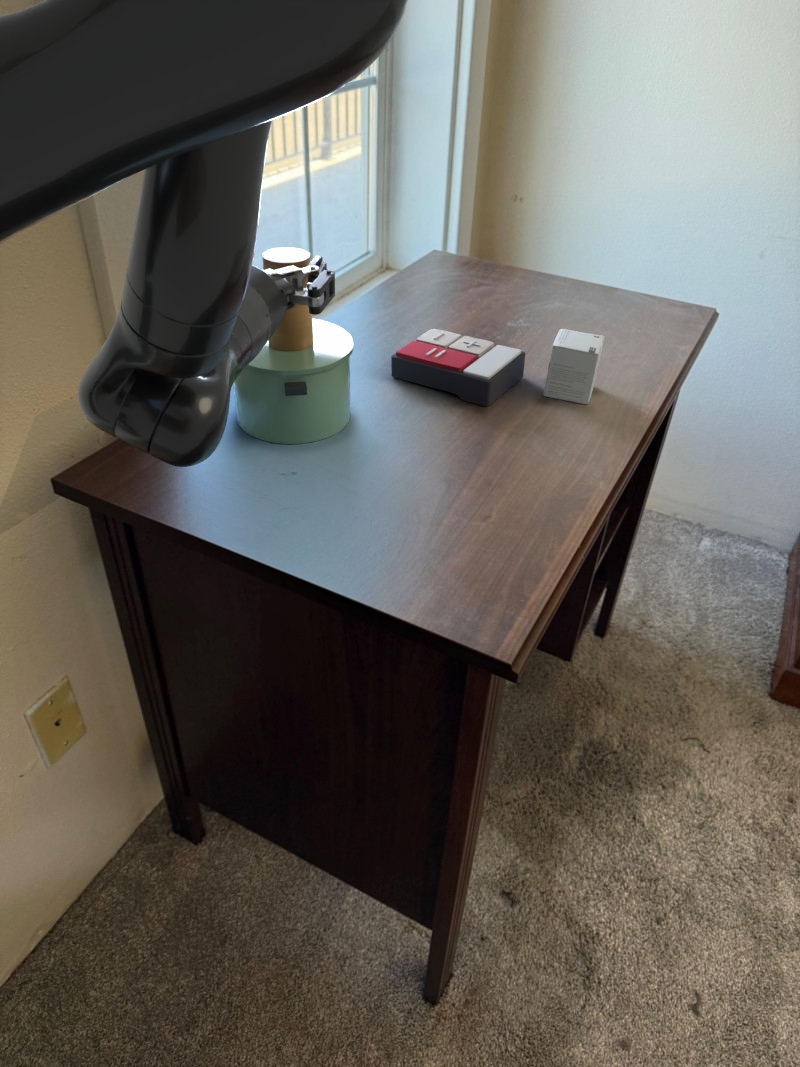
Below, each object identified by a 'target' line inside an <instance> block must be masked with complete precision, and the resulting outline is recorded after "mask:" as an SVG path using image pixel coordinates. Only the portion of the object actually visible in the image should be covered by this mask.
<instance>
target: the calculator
mask: <svg viewBox="0 0 800 1067" xmlns="http://www.w3.org/2000/svg"><path fill="white" fill-rule="evenodd" d="M390 359H391V360H390V361H391V377H393V378H395V379H400V380H403V381H407V382H411V383H414V384H418V385H421V386H426V387H429V388H433V389H437V390H441V391H444V392H448V393H450V394H456V395H457V396H458V397H459V399H462V401H465V402H468V403H471V404H476V405H480V406H484V407H490V406H491V405H492V404H493V403H494V402H495V401H496V400H498V399H499V398H501V396H502V395H503V394H505V393H506V392H507V391H508V390H509V389H511V388H512V387H513V386H514V385H515V384H516V383H517V382H518V381H520V380H521V379H522V378H523V377H524V372H525V362H526V352H525V351H522V349H519V348H516V347H511V346H506V345H502V344H497V345H496V344H495V342H493V341H492V340H491V341H490V340H487V339H483V338H478V337H473V336H469V335H464V336H462V334H460V333H454V332H452V331H447V330H444V329H443V330H442V329H438V328H431V329H429V330H428V331H426V332H425V333H423V334H421V335H419V336H418V337H417V338H416V339H415V340H412V341H410V342H409V343H407V344H406V345H404V346H402V347H400V348H399V349H397V350H396V351H395V353H394V354H392V355H391V358H390Z"/></svg>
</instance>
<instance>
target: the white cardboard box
mask: <svg viewBox="0 0 800 1067" xmlns="http://www.w3.org/2000/svg"><path fill="white" fill-rule="evenodd" d="M604 342H605V335H600V334H594V333H590V332H589V333H588V332H582V331H577V330H572V329H567V328H559V330H558V333H557V334H556V337H555V338H554V341H553V342H552V343H553V344H552V346H551V352H550V357H549V362H548V368H547V374H546V378H545V384H544V389H543V396H544V397H546V398H549V399H556V400H560V401H566V402H571V403H577V404H583V405H589V403H590V401H591V398H592V396H593V395H592V394H593V392H594V387H595V384H596V379H597V374H598V370H599V367H600V366H599V365H600V360H601V356H602V351H603V347H604Z"/></svg>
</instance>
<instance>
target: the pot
mask: <svg viewBox="0 0 800 1067" xmlns="http://www.w3.org/2000/svg"><path fill="white" fill-rule="evenodd" d="M354 346H355V345H354V339H353V337H352V335H351V334H350V333H349V332H348V331H347V330H346V329H344V328H343V327H341V326H339V325H337V324H336V323H333V322H329V321H326V320H323V319H317V318H313V344H312V345H311V346H310V347H309V348H307V349H304V350H300V351H281V350H277V349H275V348H273V347H271V346H270V345H269V342H268V341H267V343H266V344H265V345H264V347H263V348H262V350H261V351H260V352H259V354H258V355H257V356H256V357H255V358H254V360H252V361H251V362H250V363H249V364H248V365H246V367H245V368H244V369H243V371H242V372H241V373H240V375H239V376H238V377H237V379H236V380H235V382H234V383H233V385H232V388H233V396H234V404H235V406H234V407H235V412H236V421H237V424H238V426H239V427H240V428H241V429H242V430H243V431H244V432H245V433H247V434H248V435H250V436H252V437H254V438H255V439H259V440H261V441H265V442H268V443H273V444H280V445H281V444H282V445H300V444H301V445H302V444H309V443H314V442H319V441H322V440H325V439H327V438H331V437H333V436H334V435H336V434H338V433H339V432H340V431H343V429H344V428H345V427H346V426H347V425H348V423H349V422H350V419H351V355H352V354H353V352H354Z"/></svg>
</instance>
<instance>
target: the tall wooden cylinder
mask: <svg viewBox="0 0 800 1067" xmlns="http://www.w3.org/2000/svg"><path fill="white" fill-rule="evenodd" d="M311 261H312V259H311V252H309V251H307V250H306V249H302V248H300V247H299V248H298V247H292V246H291V247H289V246H282V247H281V246H280V247H273V248H270V249H267V250H265V251H263V253H261V262H262V270H263V271H264V270H267V269H271V270H273V271H274V270H278V269H282V268H285V267H289V266H294V267H297V268H299V269H301V268H305V267H307V266H308V265H309V263H310V262H311ZM285 279H286V280H287V281H288V282H289V283H290V277H287V278H285ZM307 283H308V277H305V278H304V279H303V287H306V286H307ZM313 319H314V318H313V314H310V313H309V308H308V306H306V305H298V304H295V306H294V307H293V308H291V309H289V310H286V311H285V313H284V315H283V318H282V320H281V323H280V325H279V326H278V328H277V329H276V330H275V332H274V333H273V335H272V336H271V337H270V339H269V340H268V342H269V345H270V346H271V347H273V348H275V349H277V350H281V351H300V350H304V349H307V348H309V347H310V346H311V345H312V344H313Z"/></svg>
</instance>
